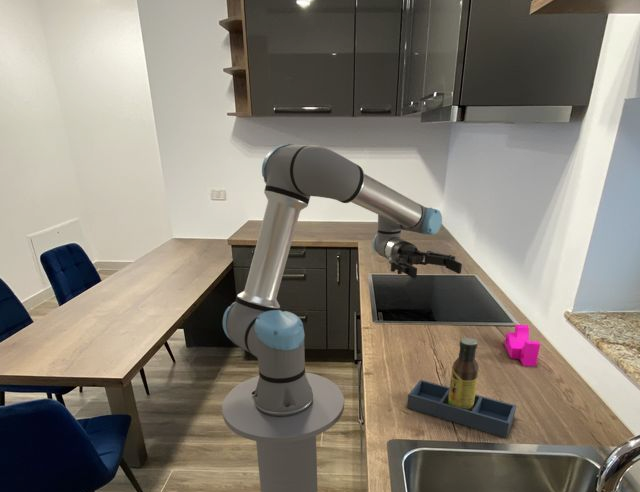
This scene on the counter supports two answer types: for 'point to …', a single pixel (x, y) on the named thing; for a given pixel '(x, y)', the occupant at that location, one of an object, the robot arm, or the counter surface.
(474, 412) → the compartment tray
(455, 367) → the sauce bottle
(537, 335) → the counter surface
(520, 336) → the toy block
